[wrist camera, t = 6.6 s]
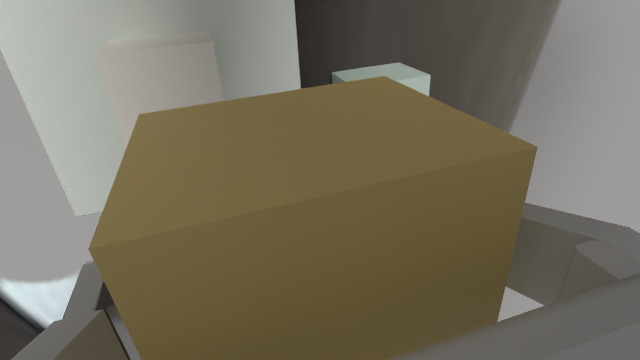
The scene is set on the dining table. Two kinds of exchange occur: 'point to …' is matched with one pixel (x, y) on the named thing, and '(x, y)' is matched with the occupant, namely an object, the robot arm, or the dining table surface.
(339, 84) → the ochre brick
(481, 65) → the dining table surface
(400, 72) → the sage brick
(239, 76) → the build board
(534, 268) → the robot arm
